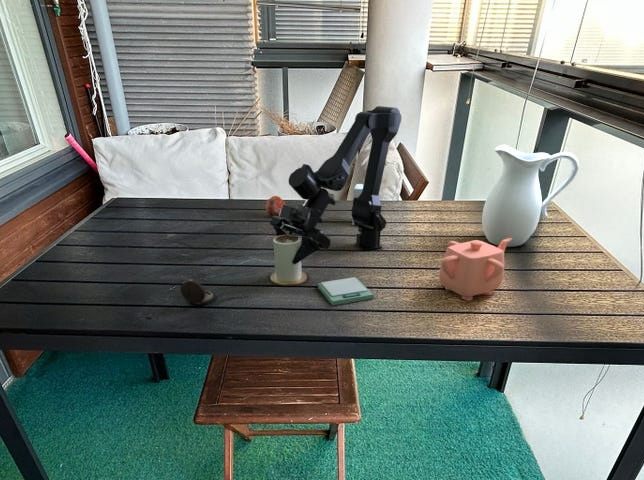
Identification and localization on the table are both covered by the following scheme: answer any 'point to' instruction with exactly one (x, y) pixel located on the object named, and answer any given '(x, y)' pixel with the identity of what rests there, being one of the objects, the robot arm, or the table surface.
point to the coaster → (301, 280)
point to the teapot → (473, 267)
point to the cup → (287, 258)
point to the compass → (196, 293)
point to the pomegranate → (274, 205)
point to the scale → (344, 291)
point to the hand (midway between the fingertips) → (283, 259)
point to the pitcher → (519, 195)
